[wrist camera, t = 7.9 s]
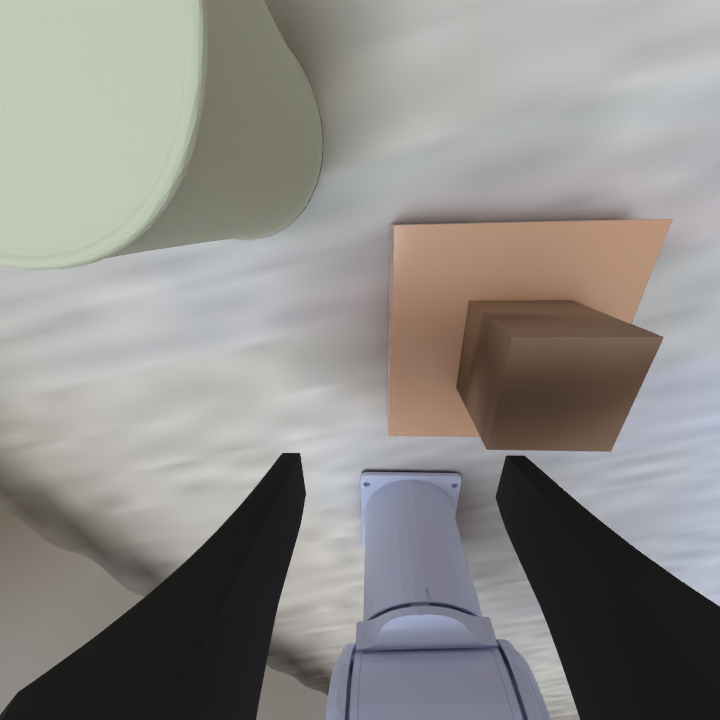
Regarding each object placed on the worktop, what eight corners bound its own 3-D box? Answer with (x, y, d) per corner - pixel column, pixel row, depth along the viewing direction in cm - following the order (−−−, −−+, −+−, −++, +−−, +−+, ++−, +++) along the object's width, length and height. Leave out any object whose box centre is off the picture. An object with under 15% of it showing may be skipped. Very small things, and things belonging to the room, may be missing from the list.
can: (316, 3, 12) (-56, -1423, 2) (328, 239, 16) (243, 277, 6) (106, 11, 13) (-1349, -1120, 2) (167, 240, 17) (-204, 278, 6)
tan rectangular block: (558, 408, 21) (586, 437, 18) (386, 408, 21) (388, 435, 18) (619, 219, 15) (672, 219, 13) (390, 224, 16) (394, 225, 13)
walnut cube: (545, 388, 17) (610, 451, 12) (455, 387, 17) (486, 449, 12) (572, 300, 14) (663, 337, 10) (468, 300, 15) (511, 336, 10)
